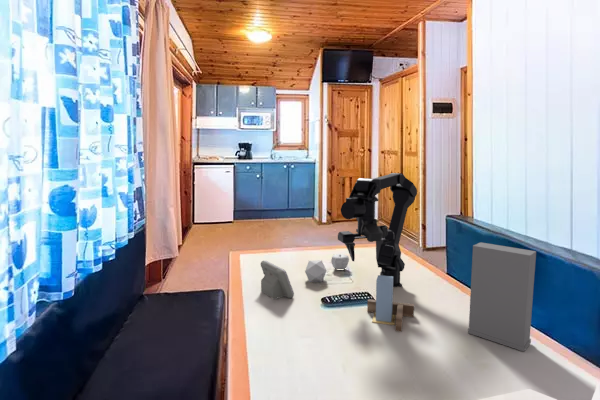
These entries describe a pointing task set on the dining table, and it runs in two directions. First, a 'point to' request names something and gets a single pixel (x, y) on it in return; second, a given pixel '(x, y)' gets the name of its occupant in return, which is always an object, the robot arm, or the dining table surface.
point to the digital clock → (275, 281)
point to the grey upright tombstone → (502, 294)
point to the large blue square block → (384, 298)
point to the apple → (340, 261)
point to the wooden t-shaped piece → (393, 313)
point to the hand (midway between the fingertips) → (365, 260)
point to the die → (315, 271)
